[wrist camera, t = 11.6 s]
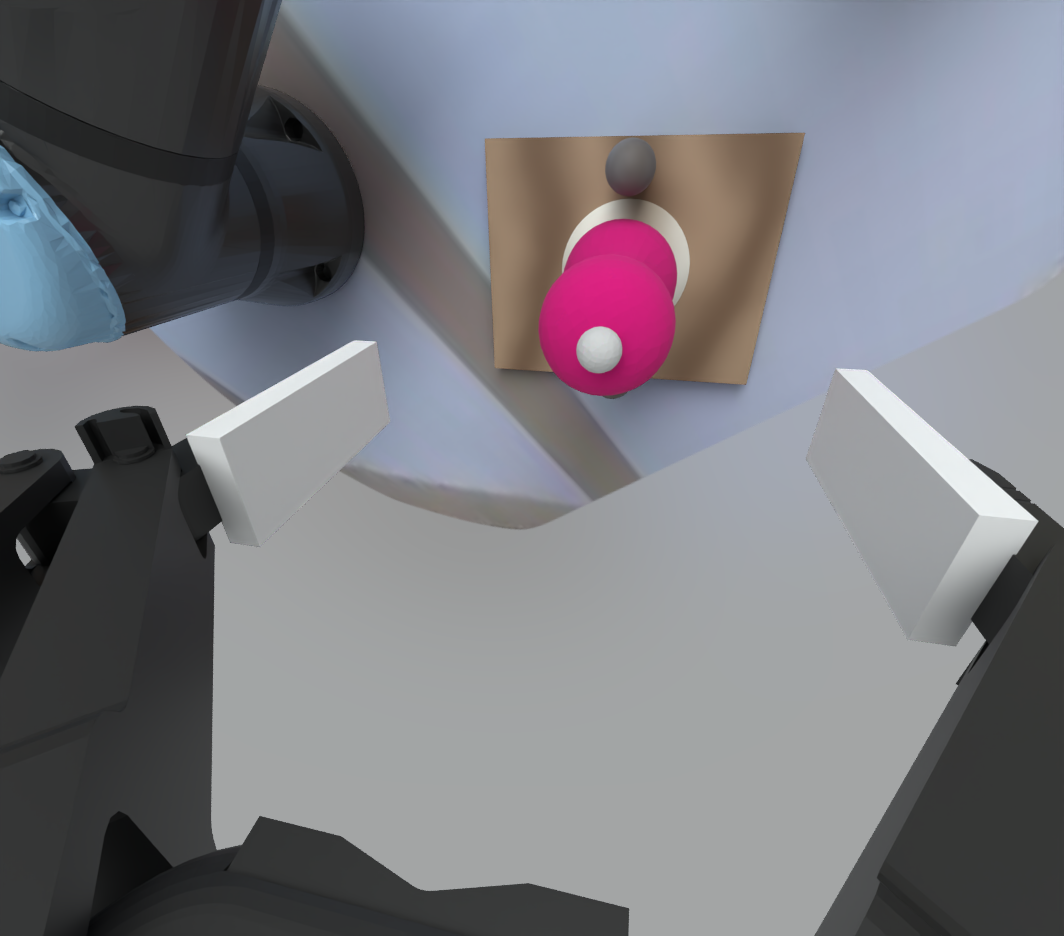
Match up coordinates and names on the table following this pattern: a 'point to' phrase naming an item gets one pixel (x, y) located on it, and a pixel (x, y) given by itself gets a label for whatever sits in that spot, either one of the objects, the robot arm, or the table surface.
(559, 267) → the holder
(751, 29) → the table surface
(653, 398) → the table surface
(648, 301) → the pepper mill
